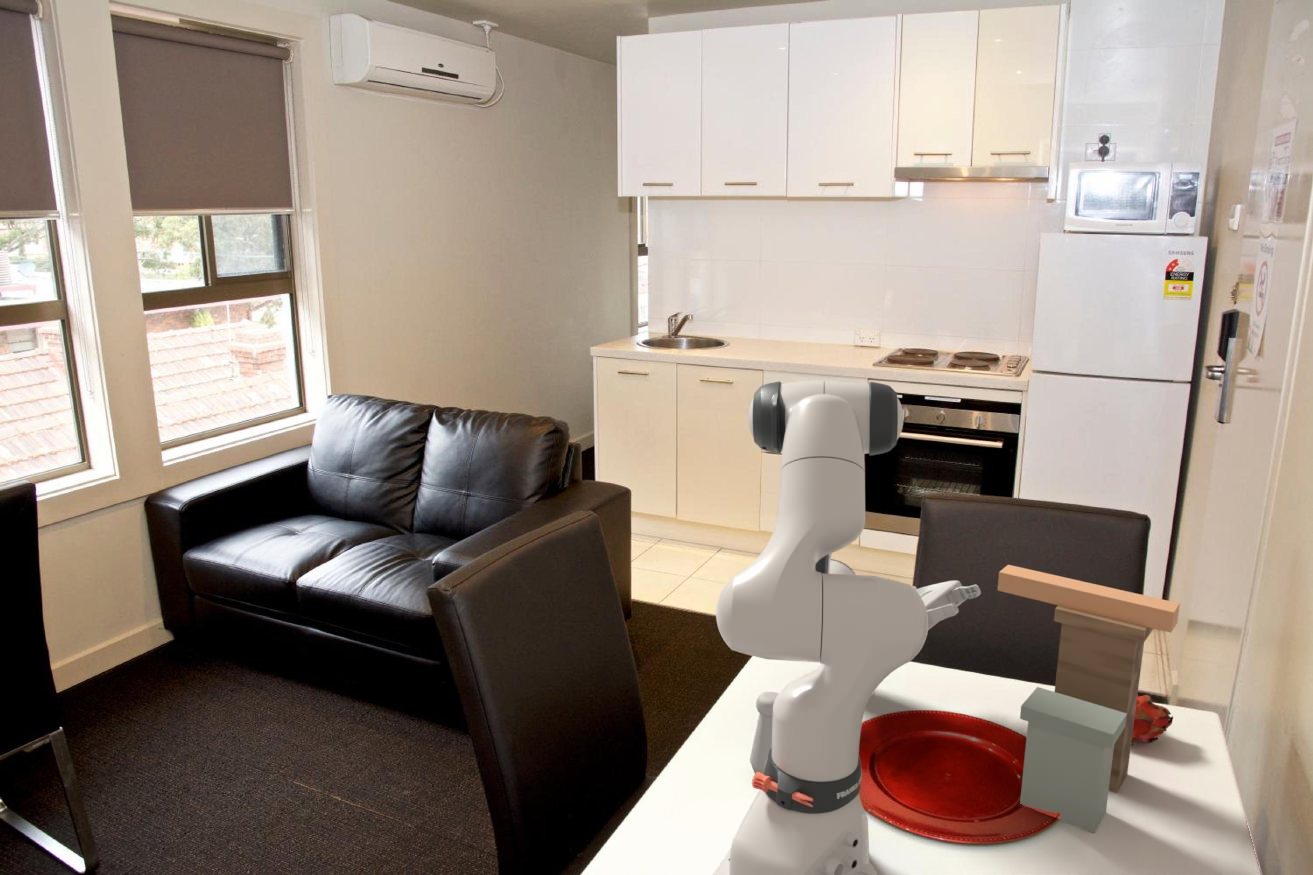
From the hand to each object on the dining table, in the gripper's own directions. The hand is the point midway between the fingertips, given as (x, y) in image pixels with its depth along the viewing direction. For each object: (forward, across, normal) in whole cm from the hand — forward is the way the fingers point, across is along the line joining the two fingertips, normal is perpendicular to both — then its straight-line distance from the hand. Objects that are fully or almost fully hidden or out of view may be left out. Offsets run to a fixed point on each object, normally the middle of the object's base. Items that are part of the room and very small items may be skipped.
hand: (967, 598), depth 151 cm
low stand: (+6, -12, +30) cm, 33 cm away
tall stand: (+6, 0, +30) cm, 30 cm away
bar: (+17, 0, +6) cm, 18 cm away
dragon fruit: (+9, +15, +31) cm, 36 cm away
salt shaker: (-26, -31, +11) cm, 42 cm away
